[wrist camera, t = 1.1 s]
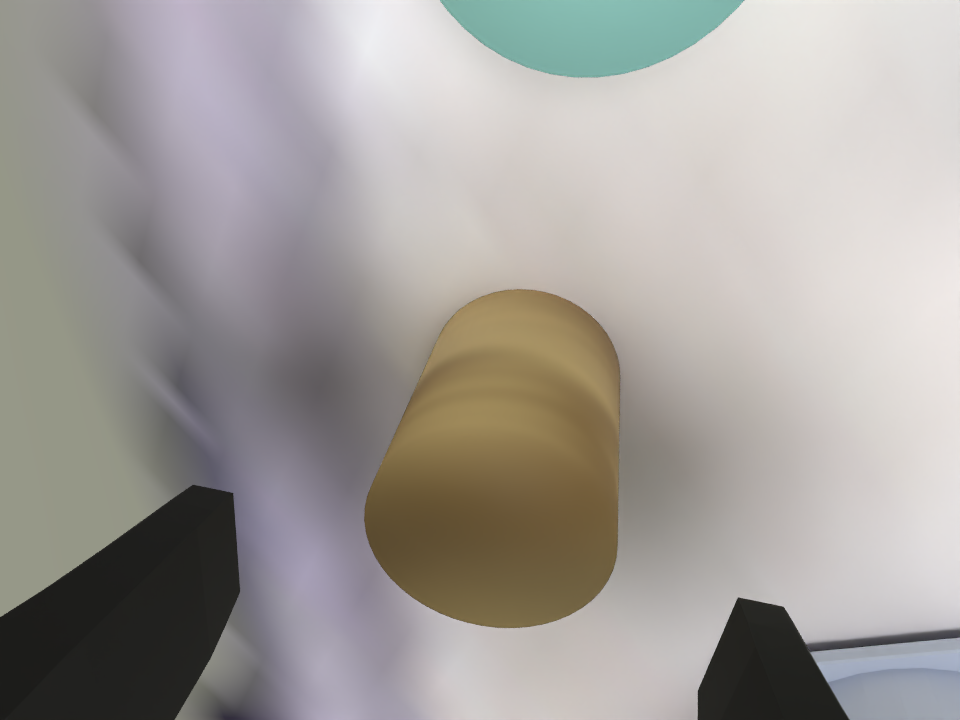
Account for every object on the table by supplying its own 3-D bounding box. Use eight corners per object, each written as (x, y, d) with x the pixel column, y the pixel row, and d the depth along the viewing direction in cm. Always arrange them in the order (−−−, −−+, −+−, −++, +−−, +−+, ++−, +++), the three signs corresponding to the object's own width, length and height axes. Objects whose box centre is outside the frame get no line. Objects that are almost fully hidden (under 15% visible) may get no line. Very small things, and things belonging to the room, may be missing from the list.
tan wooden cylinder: (641, 432, 16) (645, 613, 12) (470, 464, 18) (420, 639, 13) (589, 267, 15) (573, 408, 10) (404, 316, 16) (322, 461, 12)
